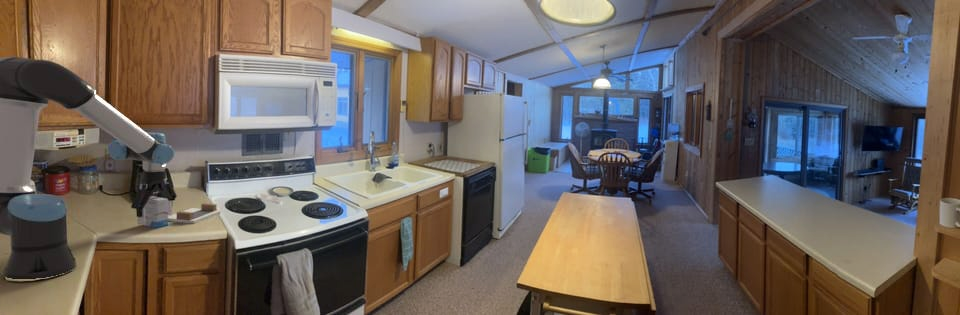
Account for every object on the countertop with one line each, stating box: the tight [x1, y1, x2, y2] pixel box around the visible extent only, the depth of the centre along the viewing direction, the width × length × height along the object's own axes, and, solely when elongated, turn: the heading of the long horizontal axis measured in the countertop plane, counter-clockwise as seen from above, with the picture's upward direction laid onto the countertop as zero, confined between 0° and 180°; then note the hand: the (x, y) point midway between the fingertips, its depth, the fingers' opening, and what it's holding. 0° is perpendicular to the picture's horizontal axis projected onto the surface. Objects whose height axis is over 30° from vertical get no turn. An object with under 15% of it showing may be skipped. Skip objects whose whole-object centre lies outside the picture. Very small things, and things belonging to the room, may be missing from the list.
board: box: [168, 202, 221, 224], centre depth 188 cm, size 17×14×4 cm
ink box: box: [144, 195, 169, 229], centre depth 173 cm, size 9×5×12 cm, turn 74°
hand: (155, 219), depth 174 cm, fingers open, 13 cm apart
